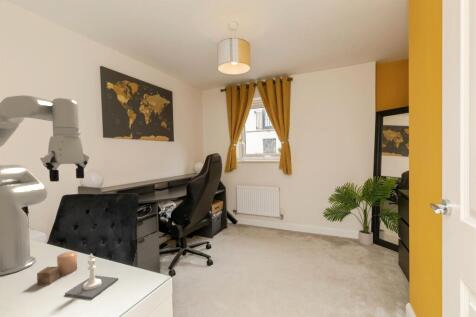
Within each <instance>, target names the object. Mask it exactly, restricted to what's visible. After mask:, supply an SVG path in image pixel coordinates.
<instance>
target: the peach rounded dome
mask: <svg viewBox="0 0 476 317" xmlns="http://www.w3.org/2000/svg"><path fill="white" fill-rule="evenodd" d="M56 259H57V260H56V264H57V266H56V267H59V276H66V275H71V274H72V273H74V272H76V271H77V270H78V258H77V252H76V251H68V252H67V251H66V252H64V253H61V254H59V255H57V257H56Z"/></svg>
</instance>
